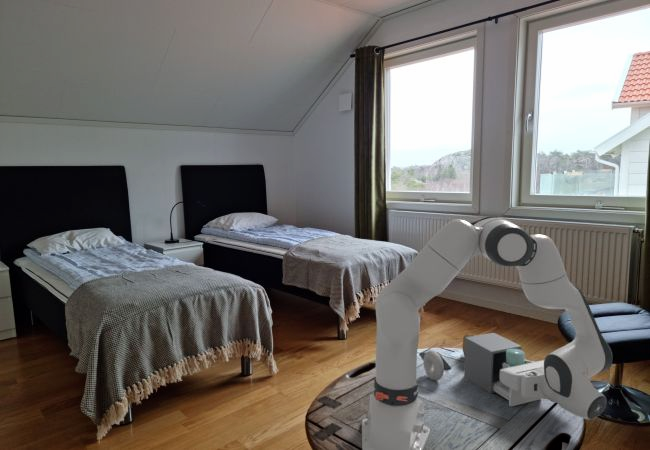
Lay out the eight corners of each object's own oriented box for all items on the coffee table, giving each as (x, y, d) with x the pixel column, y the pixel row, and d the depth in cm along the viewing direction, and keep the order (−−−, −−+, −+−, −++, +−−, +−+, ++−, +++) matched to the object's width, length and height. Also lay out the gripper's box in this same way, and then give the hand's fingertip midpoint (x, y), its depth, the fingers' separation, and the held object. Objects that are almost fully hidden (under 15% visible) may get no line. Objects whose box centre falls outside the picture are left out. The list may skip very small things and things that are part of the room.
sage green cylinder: (525, 385, 140) (526, 356, 139) (506, 383, 142) (507, 354, 141) (522, 377, 145) (523, 349, 144) (504, 376, 147) (505, 347, 146)
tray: (541, 399, 141) (542, 382, 141) (510, 406, 137) (511, 389, 136) (513, 382, 152) (514, 367, 151) (484, 388, 148) (484, 373, 147)
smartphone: (437, 353, 178) (437, 351, 178) (451, 370, 163) (451, 368, 163) (418, 354, 177) (418, 352, 177) (431, 371, 162) (431, 369, 162)
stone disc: (460, 354, 175) (460, 330, 174) (469, 354, 176) (470, 329, 175) (472, 366, 165) (472, 340, 164) (481, 365, 166) (482, 339, 164)
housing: (519, 386, 150) (521, 346, 148) (490, 393, 145) (491, 351, 144) (492, 370, 162) (493, 332, 160) (464, 376, 157) (465, 337, 156)
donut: (445, 384, 152) (446, 356, 150) (436, 386, 150) (437, 357, 149) (429, 372, 161) (430, 345, 160) (421, 373, 160) (421, 346, 159)
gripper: (575, 365, 134) (538, 348, 147) (521, 377, 127) (487, 358, 140) (574, 385, 135) (538, 366, 148) (520, 399, 128) (486, 378, 141)
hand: (512, 363), depth 144 cm, fingers closed on sage green cylinder, 5 cm apart
